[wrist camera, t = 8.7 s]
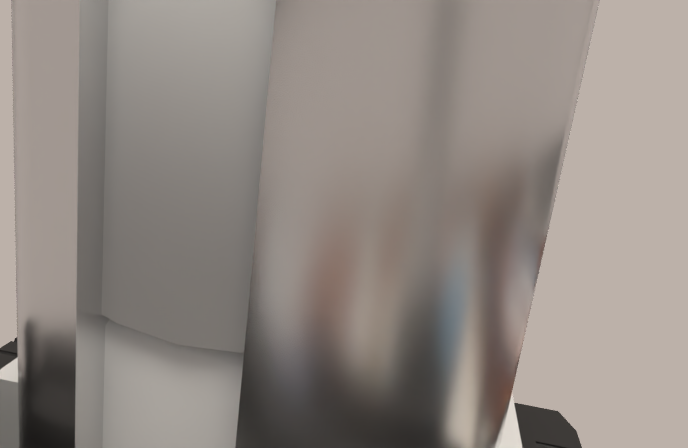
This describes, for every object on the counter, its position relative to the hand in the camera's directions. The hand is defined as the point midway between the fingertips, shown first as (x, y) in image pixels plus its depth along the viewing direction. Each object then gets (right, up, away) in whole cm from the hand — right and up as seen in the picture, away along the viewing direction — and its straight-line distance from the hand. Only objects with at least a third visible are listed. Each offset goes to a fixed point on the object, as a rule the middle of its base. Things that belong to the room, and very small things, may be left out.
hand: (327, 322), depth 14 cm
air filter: (-3, -14, -1) cm, 15 cm away
